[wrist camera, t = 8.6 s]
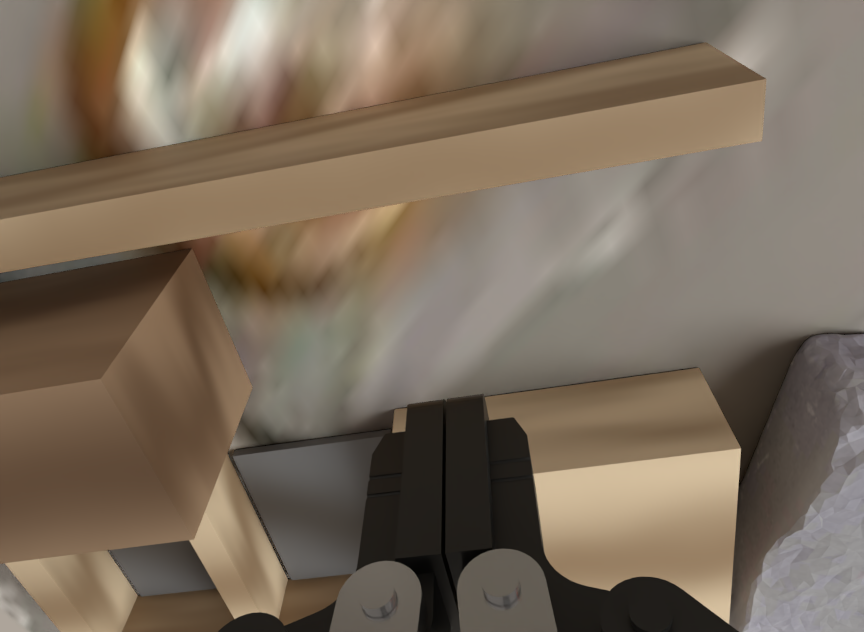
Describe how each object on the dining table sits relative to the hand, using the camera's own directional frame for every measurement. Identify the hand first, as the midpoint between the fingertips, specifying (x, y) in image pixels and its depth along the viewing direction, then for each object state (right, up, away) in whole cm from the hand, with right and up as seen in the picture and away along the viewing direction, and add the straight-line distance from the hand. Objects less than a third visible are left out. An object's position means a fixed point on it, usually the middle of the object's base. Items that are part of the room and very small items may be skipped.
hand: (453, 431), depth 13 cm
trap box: (-4, -1, +8) cm, 9 cm away
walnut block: (-10, +2, +7) cm, 13 cm away
